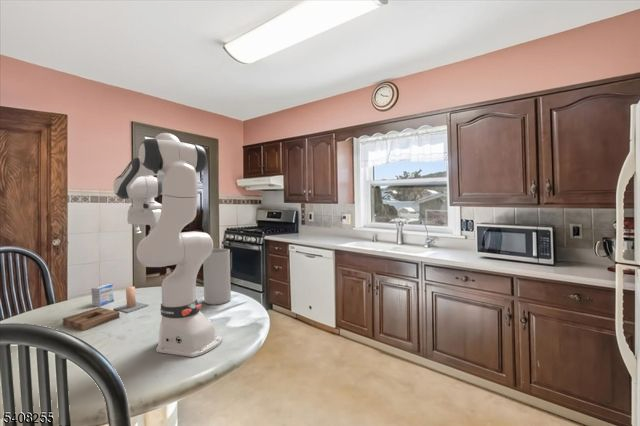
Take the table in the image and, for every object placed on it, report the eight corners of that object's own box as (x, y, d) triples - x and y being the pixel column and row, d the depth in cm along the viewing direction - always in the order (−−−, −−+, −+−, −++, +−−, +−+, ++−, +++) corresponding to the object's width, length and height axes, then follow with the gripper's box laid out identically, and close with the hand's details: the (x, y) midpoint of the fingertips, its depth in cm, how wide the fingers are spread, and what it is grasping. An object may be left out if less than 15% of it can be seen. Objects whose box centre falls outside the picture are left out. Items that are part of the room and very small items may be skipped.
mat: (148, 305, 149) (148, 304, 149) (127, 313, 140) (127, 311, 140) (134, 302, 153) (134, 301, 153) (113, 309, 144) (113, 308, 144)
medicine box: (99, 306, 148) (99, 288, 147) (92, 306, 149) (91, 288, 148) (114, 301, 155) (113, 283, 155) (106, 300, 156) (105, 283, 156)
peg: (137, 305, 147) (136, 287, 146) (130, 308, 144) (129, 289, 143) (132, 304, 149) (131, 286, 148) (125, 307, 145) (124, 288, 145)
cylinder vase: (235, 300, 156) (234, 250, 154) (212, 307, 146) (211, 254, 145) (222, 295, 164) (221, 247, 163) (199, 301, 155) (198, 251, 153)
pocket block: (119, 317, 134) (119, 312, 134) (83, 330, 122) (83, 324, 121) (99, 312, 140) (99, 307, 140) (63, 324, 128) (62, 318, 127)
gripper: (123, 204, 149) (124, 233, 150) (152, 205, 140) (153, 235, 141) (135, 204, 155) (136, 232, 156) (164, 204, 146) (165, 234, 147)
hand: (144, 234), depth 148 cm, fingers open, 8 cm apart
